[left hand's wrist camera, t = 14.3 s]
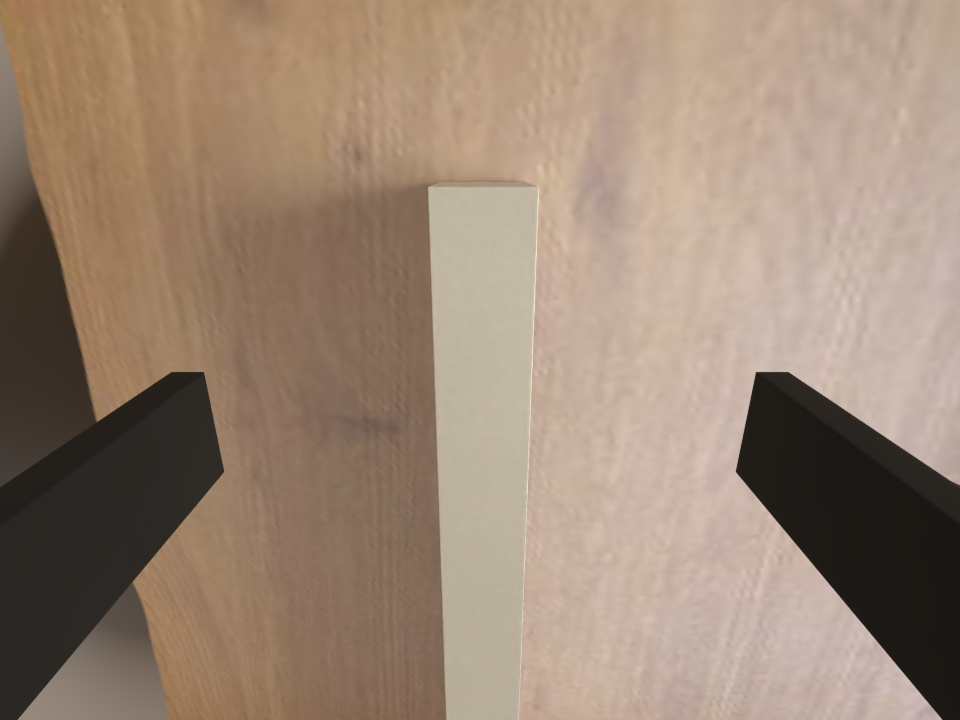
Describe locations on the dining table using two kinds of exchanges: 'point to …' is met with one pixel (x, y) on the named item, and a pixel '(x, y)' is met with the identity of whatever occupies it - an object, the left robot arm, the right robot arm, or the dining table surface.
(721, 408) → the dining table surface
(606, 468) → the dining table surface
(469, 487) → the bar
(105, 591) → the left robot arm
